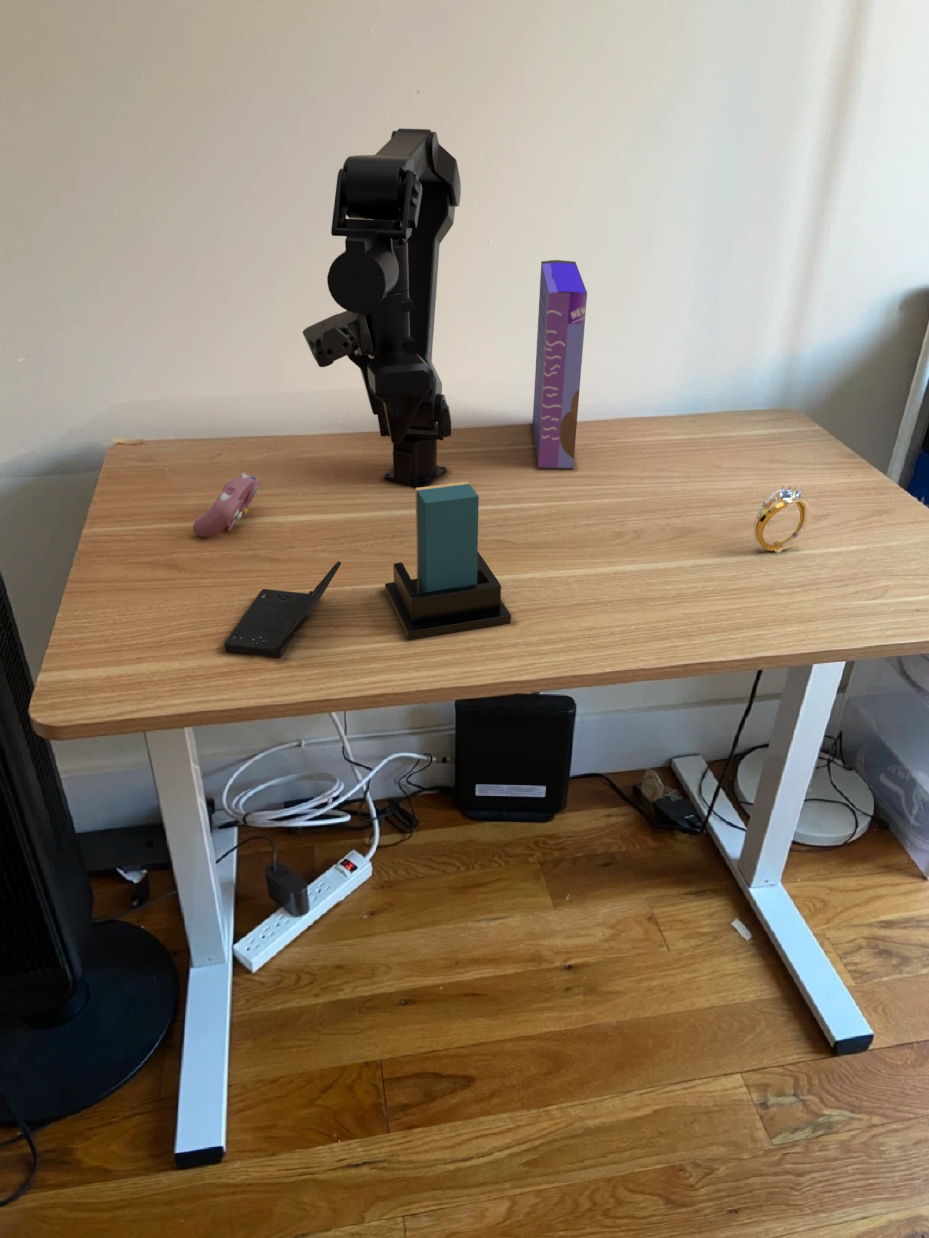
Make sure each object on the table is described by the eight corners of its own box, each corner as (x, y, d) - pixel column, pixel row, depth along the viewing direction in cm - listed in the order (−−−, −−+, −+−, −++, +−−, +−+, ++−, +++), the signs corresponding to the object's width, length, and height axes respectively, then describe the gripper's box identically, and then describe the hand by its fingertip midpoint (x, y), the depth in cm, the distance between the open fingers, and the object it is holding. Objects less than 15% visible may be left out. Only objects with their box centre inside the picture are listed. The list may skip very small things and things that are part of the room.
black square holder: (384, 591, 104) (383, 559, 101) (480, 576, 106) (481, 545, 104) (408, 640, 96) (407, 606, 93) (510, 623, 98) (512, 590, 96)
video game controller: (222, 553, 113) (240, 508, 109) (187, 534, 113) (205, 489, 109) (253, 516, 122) (272, 474, 118) (221, 499, 121) (239, 455, 117)
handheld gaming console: (241, 582, 101) (290, 523, 96) (298, 615, 104) (349, 559, 99) (217, 656, 93) (269, 596, 87) (280, 689, 96) (334, 633, 90)
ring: (795, 541, 114) (809, 480, 110) (809, 553, 112) (824, 491, 107) (743, 547, 113) (754, 486, 108) (756, 560, 110) (769, 498, 106)
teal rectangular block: (417, 594, 101) (415, 487, 94) (466, 586, 103) (467, 481, 96) (426, 611, 98) (424, 503, 92) (476, 603, 100) (478, 496, 93)
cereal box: (573, 469, 131) (587, 291, 118) (538, 468, 131) (549, 291, 118) (563, 423, 146) (575, 260, 133) (532, 422, 146) (541, 259, 133)
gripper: (291, 272, 106) (303, 407, 114) (322, 317, 91) (333, 468, 99) (388, 266, 109) (393, 398, 117) (434, 308, 94) (435, 456, 102)
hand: (386, 428), depth 109 cm, fingers open, 9 cm apart
